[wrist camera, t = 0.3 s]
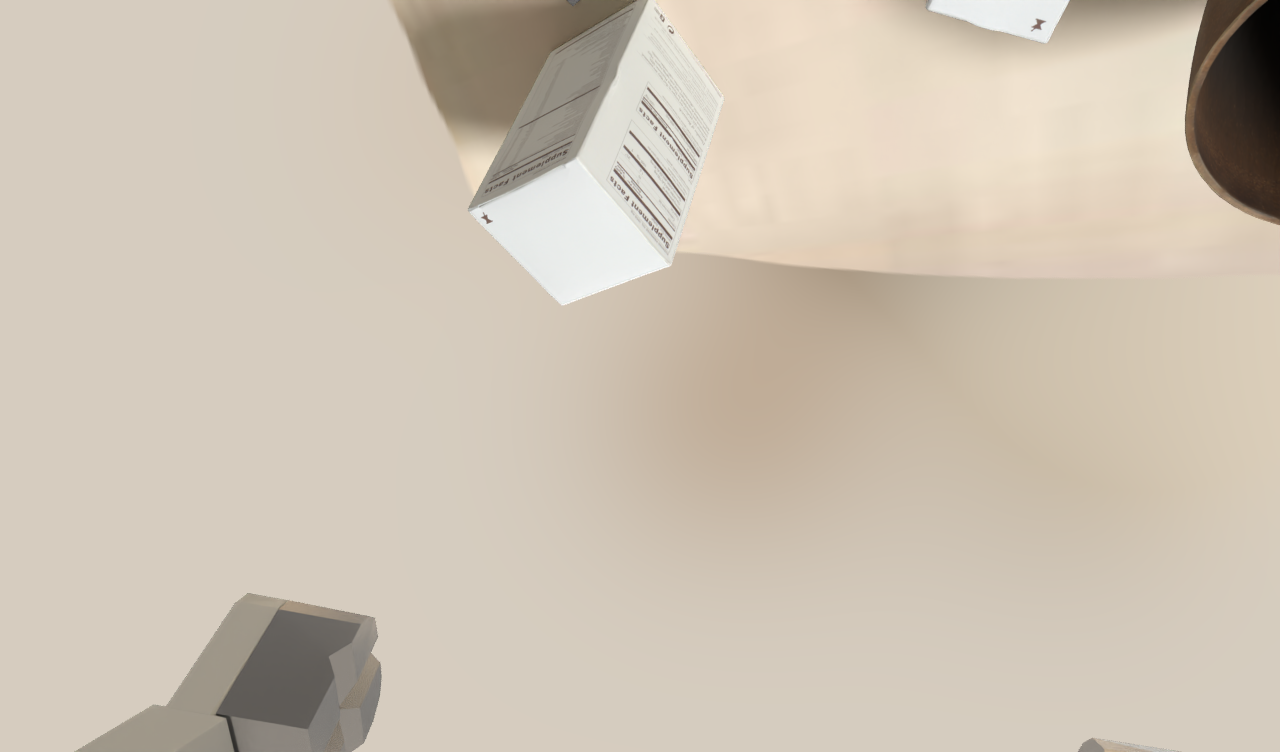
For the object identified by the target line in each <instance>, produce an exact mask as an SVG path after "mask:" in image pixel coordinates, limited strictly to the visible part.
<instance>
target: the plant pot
mask: <svg viewBox="0 0 1280 752" xmlns="http://www.w3.org/2000/svg"><path fill="white" fill-rule="evenodd" d="M1185 134H1186V141H1187V146H1188V150H1189V153H1190V156H1191V159H1192V161H1193V163H1194V166H1195V167H1196V169H1197V171H1198V172H1199V174H1200V176H1201V177H1202V178H1203V179H1204V181H1205V182H1206V183H1207V184H1208V185H1209V187H1210V188H1211V189H1212V190H1213V191H1214V192H1215V193H1216V194H1217V195H1218V196H1219V197H1221V198H1222V199H1224V200H1225V201H1227V202H1228V203H1229V204H1231V205H1232V206H1234V207H1236V208H1238V209H1240V210H1241V211H1243V212H1245V213H1247V214H1249V215H1251V216H1254V217H1256V218H1259V219H1262V220H1265V221H1268V222H1271V223H1274V224H1277V225H1280V0H1208V1H1207V4H1206V7H1205V10H1204V14H1203V18H1202V21H1201V25H1200V29H1199V33H1198V37H1197V41H1196V46H1195V51H1194V56H1193V62H1192V67H1191V74H1190V80H1189V88H1188V96H1187V104H1186V114H1185Z"/></svg>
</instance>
